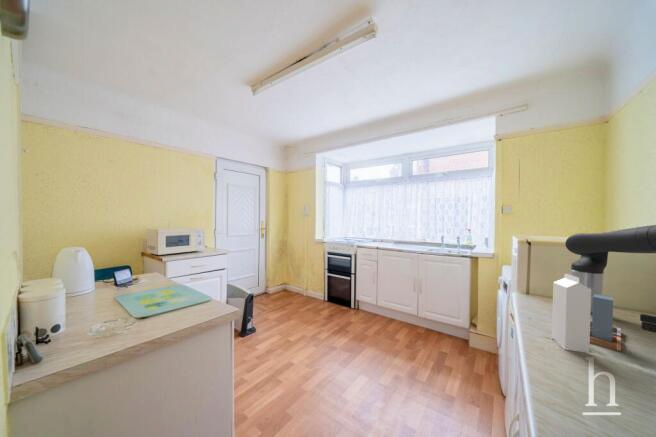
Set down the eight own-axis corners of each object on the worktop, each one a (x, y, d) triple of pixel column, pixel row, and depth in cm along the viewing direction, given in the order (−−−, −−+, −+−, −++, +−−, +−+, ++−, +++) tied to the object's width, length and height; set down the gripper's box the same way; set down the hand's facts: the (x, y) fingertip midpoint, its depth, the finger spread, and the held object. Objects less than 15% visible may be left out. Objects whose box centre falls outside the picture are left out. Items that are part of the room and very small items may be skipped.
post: (592, 336, 77) (593, 294, 76) (611, 342, 74) (613, 297, 73) (591, 340, 74) (593, 296, 74) (611, 346, 71) (613, 300, 71)
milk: (564, 350, 71) (566, 277, 70) (551, 339, 77) (552, 272, 76) (590, 353, 69) (592, 278, 69) (574, 342, 75) (575, 273, 75)
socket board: (584, 325, 87) (584, 319, 86) (623, 336, 80) (624, 328, 79) (578, 343, 75) (579, 335, 75) (624, 356, 68) (624, 348, 68)
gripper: (745, 321, 60) (639, 302, 72) (767, 339, 51) (642, 314, 64) (744, 351, 60) (639, 327, 73) (766, 373, 51) (641, 341, 64)
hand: (640, 321), depth 68 cm, fingers open, 8 cm apart
